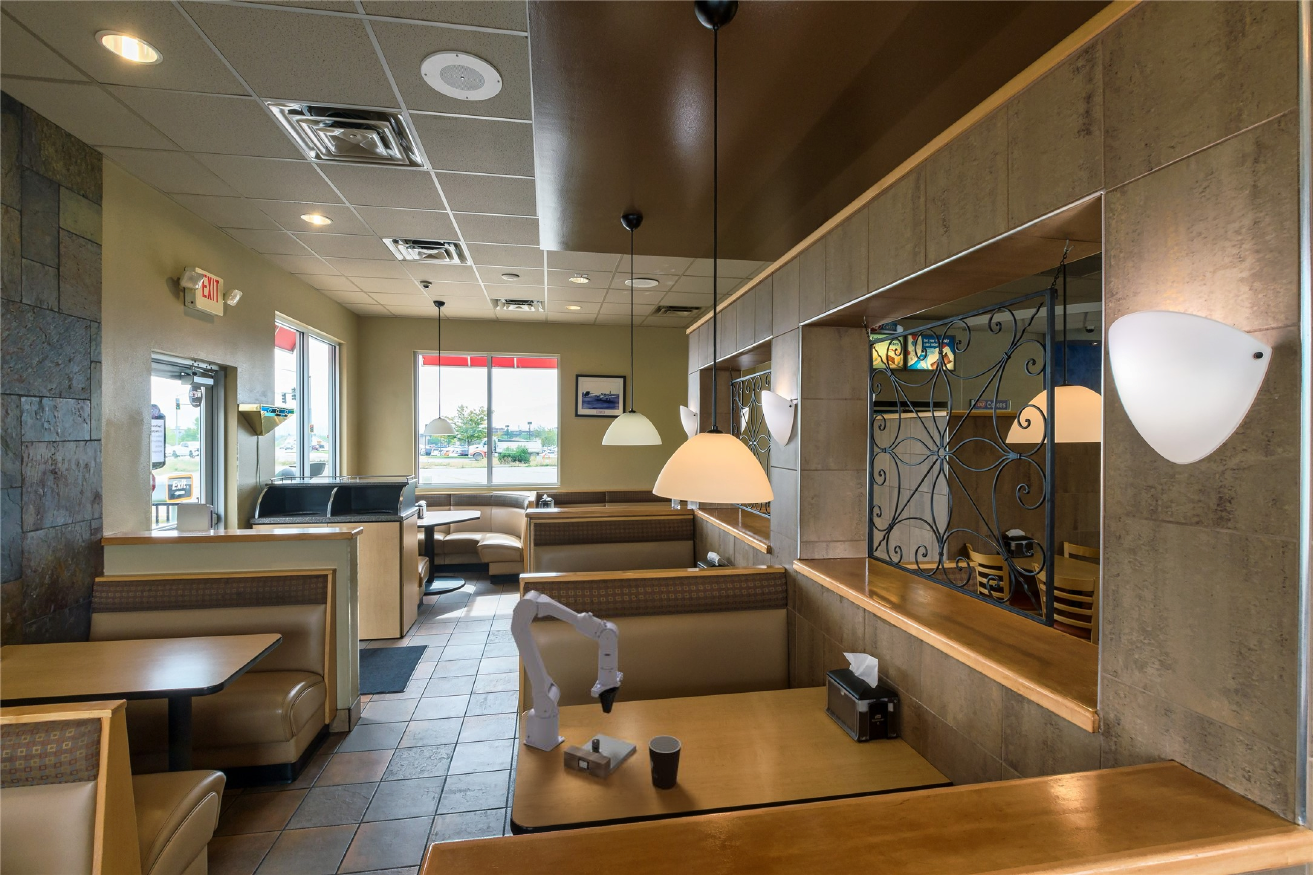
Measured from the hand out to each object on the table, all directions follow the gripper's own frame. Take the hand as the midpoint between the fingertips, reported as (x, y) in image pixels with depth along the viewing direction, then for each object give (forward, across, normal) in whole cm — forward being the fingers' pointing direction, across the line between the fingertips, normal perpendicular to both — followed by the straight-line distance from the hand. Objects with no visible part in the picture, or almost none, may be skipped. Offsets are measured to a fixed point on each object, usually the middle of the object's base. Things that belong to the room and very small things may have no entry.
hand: (606, 712), depth 165 cm
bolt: (+8, -12, -2) cm, 15 cm away
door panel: (+9, -5, -3) cm, 11 cm away
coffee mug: (+10, -7, -23) cm, 26 cm away
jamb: (+9, -14, -3) cm, 17 cm away
